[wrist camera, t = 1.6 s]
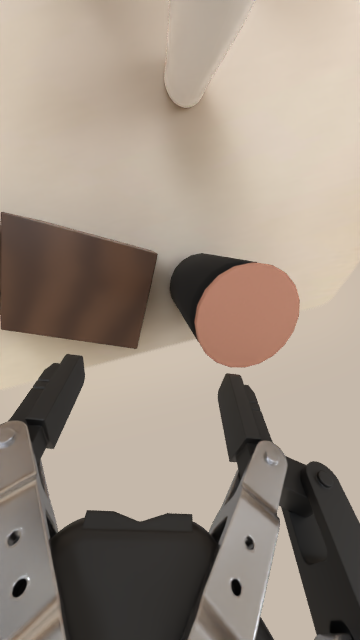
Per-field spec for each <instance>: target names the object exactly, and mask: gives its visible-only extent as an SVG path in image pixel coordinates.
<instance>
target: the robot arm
mask: <svg viewBox="0 0 360 640" xmlns="http://www.w3.org/2000/svg"><path fill="white" fill-rule="evenodd" d="M84 379H85V372H84V362H83V357H82V356H79V355H70V354H67V355H66V356H65V357H64V358H63V360H62V361H61V363H60V364H58V363H53V364H52V365H51V366H49V367H48V368H47V369H45V370H44V371H43V373H42V374H41V376H40V377H39V379H38V381H36V383H35V384H34V386H33V388H32V389H31V390H30V392H29V393H28V394H27V396H26V397H25V399H24V400H23V402H22V403H21V404H20V406H19V407H18V409H17V410H16V412H15V413H14V414H13V416H12V417H11V418H10V420H9V421H8V422H5V423H3V424H1V425H0V640H274V639H273V637H272V635H271V634H270V632H269V630H268V629H267V627H266V625H265V624H264V622H263V620H262V618H261V617H260V616H261V611H262V607H263V602H264V597H265V593H266V588H267V583H268V579H269V574H270V570H271V565H272V560H273V556H274V551H275V546H276V542H277V537H278V532H279V527H280V520H279V518H278V517H277V509H278V505H279V506H281V508H282V511H283V515H284V518H285V522H286V526H287V529H288V533H289V537H290V540H291V543H292V547H293V551H294V555H295V558H296V562H297V565H298V569H299V573H300V576H301V580H302V583H303V587H304V590H305V594H306V598H307V601H308V605H309V609H310V612H311V616H312V619H313V623H314V627H315V630H316V634H317V636H316V637H315V639H314V640H360V523H359V521H358V519H357V517H356V515H355V513H354V511H353V509H352V507H351V505H350V503H349V501H348V499H347V497H346V495H345V493H344V491H343V489H342V487H341V485H340V483H339V481H338V479H337V477H336V476H335V475H334V474H333V472H332V471H331V470H330V469H328V468H327V467H326V466H325V465H323V464H321V463H319V462H314V461H313V462H310V463H309V464H307V465H304V464H302V463H299V462H298V461H295V460H293V459H291V458H288V457H286V456H285V455H284V453H283V452H282V451H281V449H280V448H279V447H278V446H277V445H275V444H274V443H273V442H272V440H271V437H270V434H269V432H268V429H267V426H266V423H265V421H264V419H263V415H262V413H261V411H260V407H259V405H258V402H257V399H256V396H255V393H254V392H253V391H252V390H251V388H250V387H249V386H248V385H244V384H243V381H242V378H241V376H240V375H236V374H226V375H225V377H224V379H223V381H222V384H221V386H220V388H219V391H218V402H219V408H220V413H221V419H222V423H223V429H224V435H225V440H226V445H227V451H228V456H229V461H230V462H237V464H238V470H237V472H236V474H235V477H234V479H233V481H232V484H231V486H230V488H229V490H228V493H227V495H226V498H225V500H224V502H223V504H222V507H221V509H220V510H219V512H218V514H217V516H216V517H215V519H214V521H213V524H212V525H211V528H210V530H209V532H207V531H206V530H205V529H204V528H203V527H201V526H200V525H198V524H197V523H195V522H192V514H169V513H167V514H164V515H161V516H158V517H155V518H151V519H148V520H145V521H141V522H139V521H136V520H134V519H131V518H129V517H126V516H124V515H121V514H119V513H117V512H114V511H91V510H87V512H86V515H85V518H81V519H79V520H77V521H74V522H72V523H71V524H69V525H67V526H66V527H64V528H63V529H62V530H60V531H59V532H58V528H57V524H56V519H55V515H54V512H53V508H52V505H51V502H50V498H49V493H48V489H47V484H46V481H45V476H44V471H43V466H42V462H41V457H42V455H43V453H44V451H45V449H46V448H50V449H54V447H55V445H56V443H57V441H58V438H59V436H60V434H61V432H62V430H63V428H64V425H65V423H66V421H67V419H68V417H69V415H70V412H71V410H72V408H73V406H74V404H75V401H76V399H77V397H78V395H79V393H80V391H81V388H82V386H83V383H84Z"/></svg>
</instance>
